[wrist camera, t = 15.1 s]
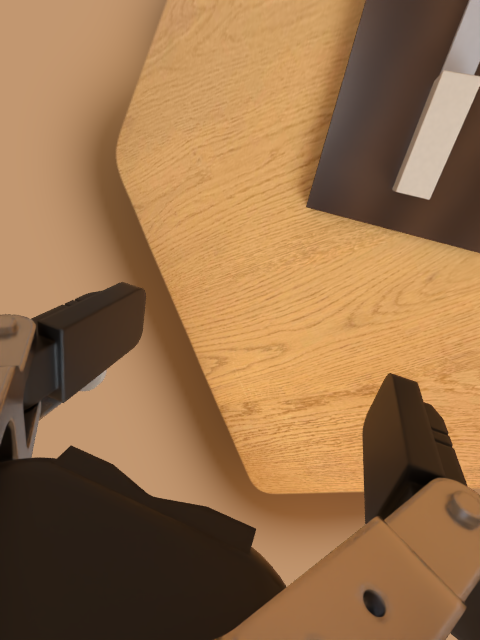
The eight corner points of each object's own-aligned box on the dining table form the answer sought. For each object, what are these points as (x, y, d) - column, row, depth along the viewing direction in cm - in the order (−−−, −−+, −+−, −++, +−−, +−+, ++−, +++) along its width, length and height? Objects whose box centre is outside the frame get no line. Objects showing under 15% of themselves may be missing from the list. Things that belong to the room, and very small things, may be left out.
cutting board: (307, 205, 33) (306, 207, 32) (415, -163, 23) (419, -184, 21) (481, 251, 30) (487, 255, 29) (697, -146, 20) (721, -169, 19)
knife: (422, 197, 29) (429, 199, 26) (391, 190, 29) (395, 191, 27) (552, -105, 21) (581, -145, 18) (507, -109, 21) (528, -148, 19)
